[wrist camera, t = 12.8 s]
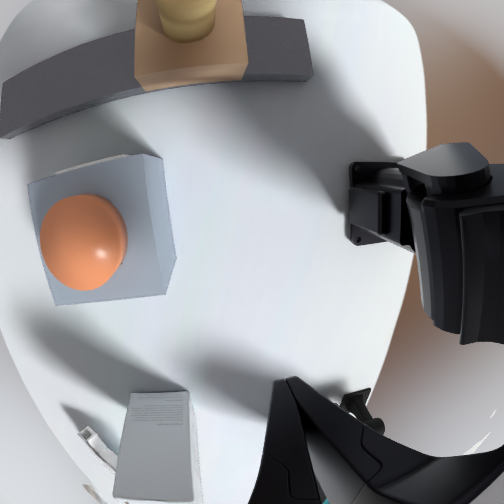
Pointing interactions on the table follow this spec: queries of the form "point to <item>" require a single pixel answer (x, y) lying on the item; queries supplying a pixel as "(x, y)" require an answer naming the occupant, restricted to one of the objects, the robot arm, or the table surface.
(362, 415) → the surveillance camera
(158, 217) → the cabinet
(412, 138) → the table surface
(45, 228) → the button
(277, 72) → the rail
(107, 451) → the grey elongated part
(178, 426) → the skincare box
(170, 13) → the carriage
